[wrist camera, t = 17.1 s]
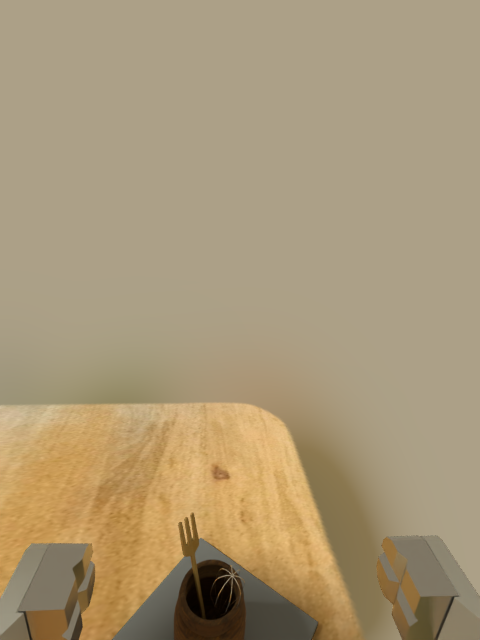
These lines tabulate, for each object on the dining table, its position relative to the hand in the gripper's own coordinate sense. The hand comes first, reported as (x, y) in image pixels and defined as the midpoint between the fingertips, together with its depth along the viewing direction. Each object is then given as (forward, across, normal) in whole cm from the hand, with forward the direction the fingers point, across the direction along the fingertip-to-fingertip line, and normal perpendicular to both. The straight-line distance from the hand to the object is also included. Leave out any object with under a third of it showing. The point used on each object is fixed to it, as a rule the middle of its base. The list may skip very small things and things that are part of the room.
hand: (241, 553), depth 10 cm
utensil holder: (+12, 0, +28) cm, 30 cm away
